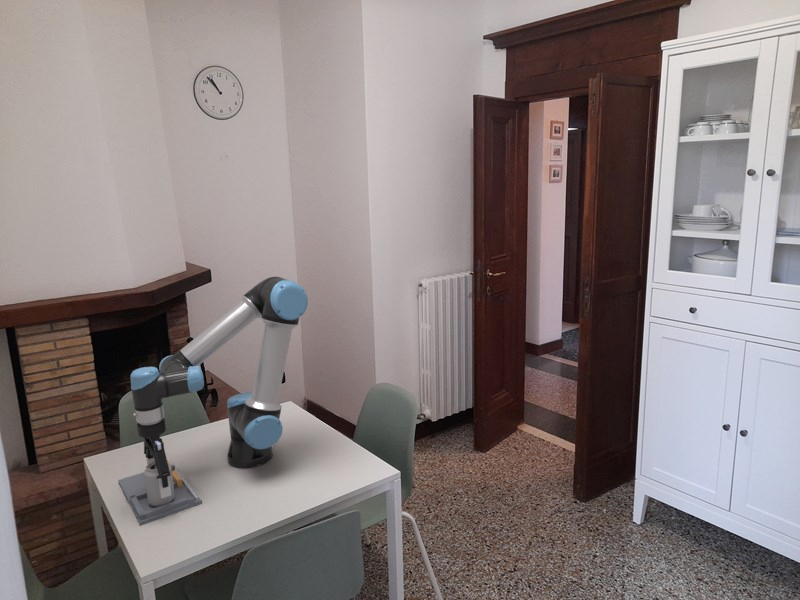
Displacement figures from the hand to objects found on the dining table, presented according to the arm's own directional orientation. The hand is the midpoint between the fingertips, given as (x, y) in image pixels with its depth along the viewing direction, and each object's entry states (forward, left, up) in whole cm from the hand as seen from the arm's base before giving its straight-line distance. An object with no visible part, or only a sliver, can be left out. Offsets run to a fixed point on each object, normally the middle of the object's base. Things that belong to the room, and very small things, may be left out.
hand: (160, 486), depth 170 cm
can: (0, 0, -5) cm, 5 cm away
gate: (+5, -14, -5) cm, 16 cm away
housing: (+5, -6, -6) cm, 10 cm away
